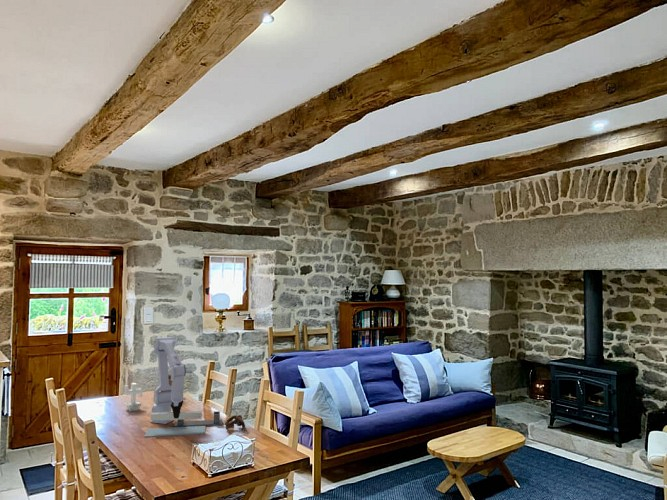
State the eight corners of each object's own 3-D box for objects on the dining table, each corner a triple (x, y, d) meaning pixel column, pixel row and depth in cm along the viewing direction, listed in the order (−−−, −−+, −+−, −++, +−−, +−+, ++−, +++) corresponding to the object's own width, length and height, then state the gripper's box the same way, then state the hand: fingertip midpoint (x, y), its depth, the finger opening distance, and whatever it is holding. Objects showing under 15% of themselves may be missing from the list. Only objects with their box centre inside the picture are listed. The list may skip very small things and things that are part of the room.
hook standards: (174, 427, 252) (174, 416, 252) (175, 423, 259) (175, 412, 259) (222, 425, 258) (222, 414, 258) (222, 421, 264) (222, 411, 265)
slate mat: (144, 437, 237) (144, 436, 237) (147, 429, 249) (147, 428, 249) (204, 434, 243) (204, 433, 243) (205, 426, 255) (205, 425, 255)
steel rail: (150, 420, 242) (150, 414, 242) (151, 418, 245) (151, 412, 245) (201, 418, 248) (201, 412, 248) (201, 416, 251) (201, 410, 251)
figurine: (143, 409, 282) (144, 383, 283) (126, 412, 276) (127, 385, 277) (139, 407, 288) (140, 381, 289) (122, 409, 282) (123, 383, 283)
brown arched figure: (245, 434, 246) (237, 420, 245) (228, 441, 247) (220, 428, 246) (250, 421, 258) (242, 408, 256) (234, 428, 259) (227, 415, 258)
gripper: (184, 392, 241) (183, 421, 240) (186, 385, 255) (185, 412, 254) (169, 393, 239) (168, 421, 239) (172, 386, 253) (171, 413, 253)
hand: (176, 417), depth 246 cm, fingers closed on steel rail, 3 cm apart
